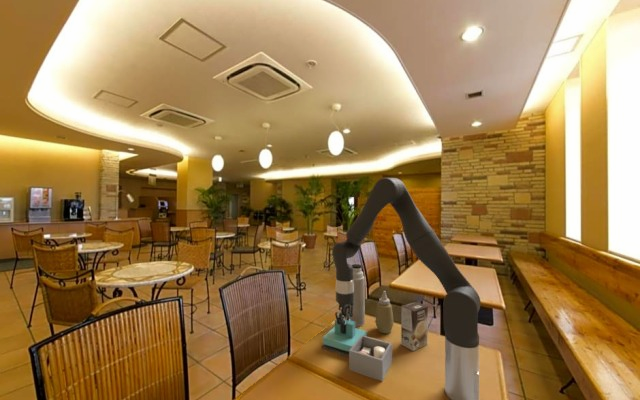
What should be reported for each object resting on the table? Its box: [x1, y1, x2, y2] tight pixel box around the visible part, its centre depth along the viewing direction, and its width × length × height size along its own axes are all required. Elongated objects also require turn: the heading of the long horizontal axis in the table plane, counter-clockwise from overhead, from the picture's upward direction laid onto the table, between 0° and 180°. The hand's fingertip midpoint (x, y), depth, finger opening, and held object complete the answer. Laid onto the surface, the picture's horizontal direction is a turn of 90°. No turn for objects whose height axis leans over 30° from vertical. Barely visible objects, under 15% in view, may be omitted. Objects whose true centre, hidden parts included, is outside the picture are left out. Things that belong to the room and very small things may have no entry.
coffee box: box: [400, 301, 429, 352], centre depth 111 cm, size 9×6×16 cm
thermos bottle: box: [350, 263, 366, 328], centre depth 130 cm, size 8×8×28 cm
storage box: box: [348, 335, 393, 382], centre depth 97 cm, size 12×12×7 cm
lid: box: [322, 319, 367, 352], centre depth 111 cm, size 14×14×8 cm
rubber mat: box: [321, 344, 349, 358], centre depth 111 cm, size 14×14×1 cm
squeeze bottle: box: [374, 290, 395, 335], centre depth 122 cm, size 8×8×18 cm
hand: (345, 331), depth 111 cm, fingers closed on lid, 3 cm apart
